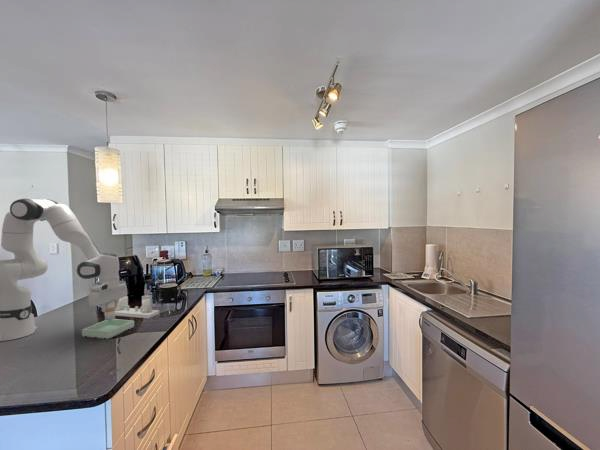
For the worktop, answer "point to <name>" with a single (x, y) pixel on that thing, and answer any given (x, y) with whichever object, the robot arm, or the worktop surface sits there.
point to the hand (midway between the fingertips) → (109, 309)
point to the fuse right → (145, 303)
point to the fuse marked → (110, 310)
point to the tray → (108, 328)
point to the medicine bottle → (125, 301)
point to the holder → (136, 312)
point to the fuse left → (119, 304)
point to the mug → (168, 293)
